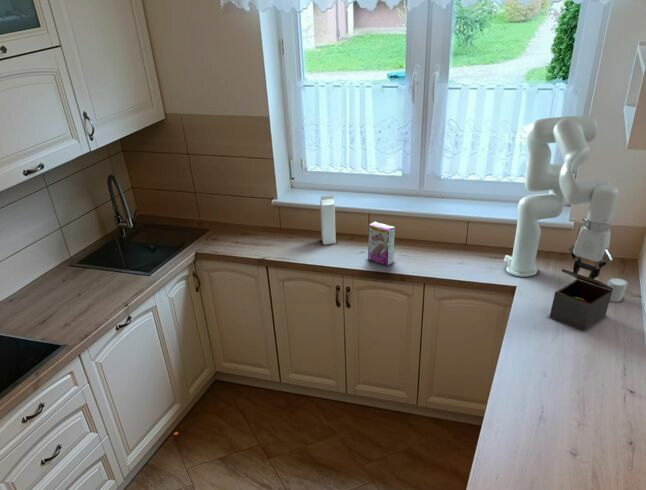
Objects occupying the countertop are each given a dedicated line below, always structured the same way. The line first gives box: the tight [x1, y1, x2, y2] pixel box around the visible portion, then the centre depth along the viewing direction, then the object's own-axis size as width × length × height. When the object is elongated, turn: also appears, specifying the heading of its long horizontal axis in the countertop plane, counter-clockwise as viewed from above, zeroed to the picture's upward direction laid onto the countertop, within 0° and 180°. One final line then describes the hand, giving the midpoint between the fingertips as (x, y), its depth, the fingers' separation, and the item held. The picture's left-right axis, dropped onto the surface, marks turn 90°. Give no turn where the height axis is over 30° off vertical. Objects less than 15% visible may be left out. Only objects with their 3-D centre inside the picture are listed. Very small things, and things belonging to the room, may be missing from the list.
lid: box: [561, 261, 613, 290], centre depth 210 cm, size 16×14×5 cm
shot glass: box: [607, 277, 629, 303], centre depth 227 cm, size 7×7×7 cm
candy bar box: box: [367, 221, 396, 266], centre depth 260 cm, size 11×5×16 cm, turn 48°
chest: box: [549, 278, 612, 332], centre depth 216 cm, size 15×14×10 cm
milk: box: [319, 195, 337, 245], centre depth 279 cm, size 6×6×22 cm
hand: (585, 274), depth 207 cm, fingers closed on lid, 6 cm apart
